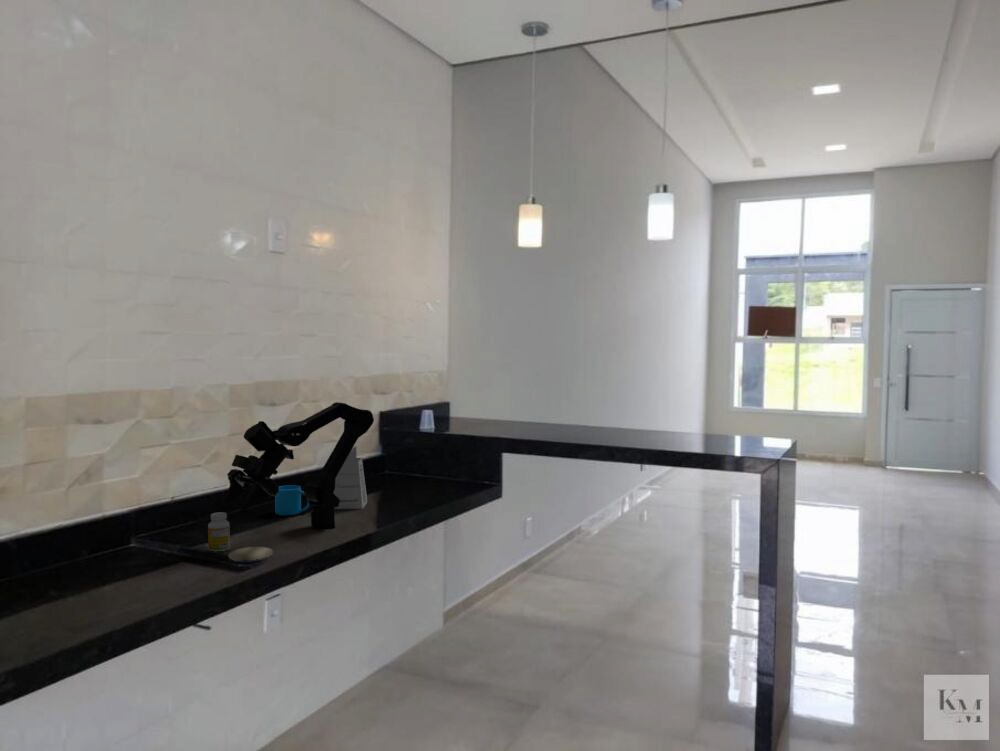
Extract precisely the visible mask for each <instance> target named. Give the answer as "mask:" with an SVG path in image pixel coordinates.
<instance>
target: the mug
mask: <svg viewBox="0 0 1000 751" xmlns="http://www.w3.org/2000/svg"><path fill="white" fill-rule="evenodd" d="M278 486H279V485H278ZM301 487H302V486H300V485H294V484H293V485H292V484H289V485H281V486H279V492H278V493H277V494H276V496H274V497H275V498H274V507H275V509H274V512H275V513H276V514H275V515H277V514H279V515H278V516H292V515H293V516H294V515H298V514H301V513H302V512H304V511H306V510H307V509H309V507H310V506H311V505H309V502H308V499H307V498H306V501H307V504H306V505H305V506H304V507H303V508H302V495H303V496H305V494H304V490H302V488H301Z"/></svg>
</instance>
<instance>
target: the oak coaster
mask: <svg viewBox="0 0 1000 751" xmlns="http://www.w3.org/2000/svg"><path fill="white" fill-rule="evenodd" d="M272 554H273V555H274V549H272V548H270V547H265V546H250V547H249V546H248V547H241V548H237V549H235V550H232V551H230V552H229V553H228V555H227V558H228V557H229V558H230V559H232V560H234V561H240V560H256V559H262V558H265V557H269V556H270V555H272Z"/></svg>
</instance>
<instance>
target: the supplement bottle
mask: <svg viewBox="0 0 1000 751" xmlns="http://www.w3.org/2000/svg"><path fill="white" fill-rule="evenodd" d="M227 518H228V516H227V512H224V511H222V512H220V511H219V512H213V513H211V514H210V520H211V521H210V522H209V523H208V525H207V538H208V539H207V541H208V542H207V545H208V551H209V550H213V551H223V552H226V551H225V550H227V551H228V549H229V550H230V549H231V535H230V533H231V531H230V528H231V527H230V522H229V521H228V520H227Z"/></svg>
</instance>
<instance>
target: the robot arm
mask: <svg viewBox="0 0 1000 751" xmlns="http://www.w3.org/2000/svg"><path fill="white" fill-rule="evenodd" d="M338 419H341V420H344V422H343V432H342V434H341V436H340V437H339V439H338V441H337V442H336V444H335V446H334V448H333V449H332V451H331V453H330V455H329V457H328V459H327V460H326V462H325V464H324V465H323V467H322V469H321V470H320V471H319V472H318V473H311V474H310V475H309V478H308V479H307V482H305V483H304V490H303V491H304V494H305V495H304V497H305V499H306V500H307V499H308V501H307V502H309V505H310V506H312V509H311V512H310V525H311V526H312V529H313V530H314V529H319V530H320V529H334V528H336V521H335V520H336V519H335V518H336V517H335V511H336V509H335V507H338V506H339V502H340V499H339V498H338V497H337V496H336V495H335V494H333V492H334V490H335V479H336V477H337V475H338V473H339V471H340V469H341V468H342V466H343V464H344V462H345V461H346V459H347V457H348V455H349V453H350V452H351V450H352V448H353V446H356V445H355V444H356V442H357V441H358V439H359V438H361V437H362V436H363V435H365V434H366V433H367V432H368V431H369V430H370V429H371V427H372V426H373V424H374V421H375V418H374V414H373V413H372V411H370V410H368V409H362V408H361V409H360V408H357V407H354V406H351V405H349V404H347V403H345V402H339V401H336V402H334V403H332V404H331V405H329V406H328V407H326V408H323V409H322V410H320V411H318V412H316V413H313V414H312V415H310V416H308V417H306V418H304V419H303V420H299V421H295V422H290V423H286V424H283V425H281V426H280V427H279V428H278V429H276V430H272V429H271V428H270V427H269V426H268V424H267V423H266V422H265V421H263V420H258V423H255V424H253V425H252V426H251V427H249V428H247V429H246V431H244V434H243V438H244V440H245V441H246V442H247V443H248V444H249V445H251V446H252V447H253V448H254V449H255V450H256V451H257V452H262V454H261V455H260V457H258V456H256V455H254V454H253V455H251V454H250V455H248V457H247V456H243V455H240V454H235V455H234V459H233V461H232V462H231V463H232V464H231V466H232V467H234V468H233V469H230V470H229V472H227V474H226V475H227V479H228V481H229V487H228V490H227V492H226V495H225V497H224V500H223V502H222V503H223V505H225V506H228V505H229V504H231V503H232V502H234V501H235V500H236V499H238V498H239V497H240V496H242V495H243V494H245V492H247V491H248V490H247V489H248V488H250V487H251V491H250V492H249V494H247V497H246V498H245V500H244V501H243V503H242V504H241V507H240V510H241V511H246V510H247V509H249V508H251V507H253V506H255V505H257V504H259V503H261V502H263V501H265V500H267V499H271V498H272V497H275V496H276V494H277V493H278V492H279V485H278V484H277V483H276V482H275V481H274V480H273V479H272V478H271V477H272V476H273V475H274V476H275V475H277V474H278V470H277V469H278V468H279V467H280V466H281V464H282V463H283V462H284V460H286V459H288V460H294V459H295V457H294V449H288V447H286V446H289V447H298V446H299V447H300V445H302V444H304V443H305V441H307V440H308V439H309V438H310V436H311V435H312V434H313V433H314V432H316V431H318V430H320V429H322V428H323V427H325V426H327V425H329V424H330V423H333V422H335V421H336V420H338ZM235 467H237V468H235ZM238 468H240V469H238ZM241 469H242V470H241Z"/></svg>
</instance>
